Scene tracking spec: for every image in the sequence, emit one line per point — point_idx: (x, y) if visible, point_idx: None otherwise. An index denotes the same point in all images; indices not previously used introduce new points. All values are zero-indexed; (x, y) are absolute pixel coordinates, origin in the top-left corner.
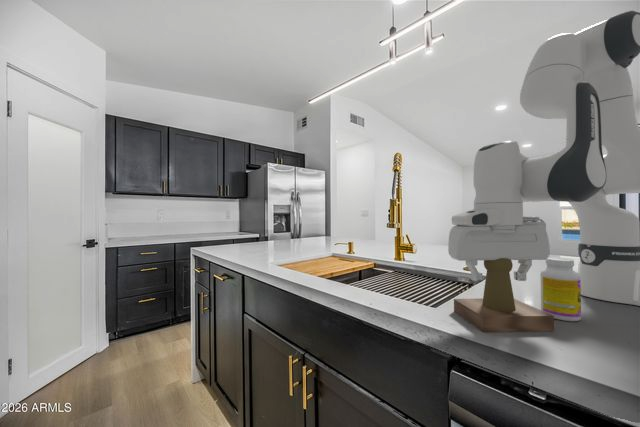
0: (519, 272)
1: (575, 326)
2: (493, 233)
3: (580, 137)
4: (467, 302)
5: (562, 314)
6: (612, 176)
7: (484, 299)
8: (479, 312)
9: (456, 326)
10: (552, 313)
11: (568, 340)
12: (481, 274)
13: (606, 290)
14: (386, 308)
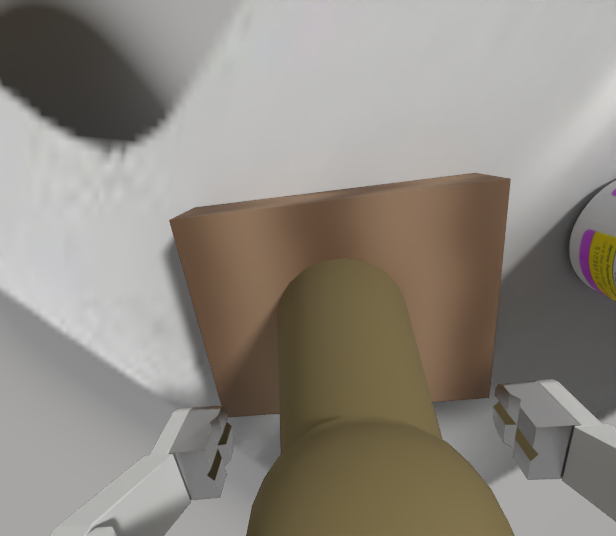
0: (544, 464)
1: (577, 322)
2: None
3: None
4: (222, 273)
5: (603, 294)
6: None
7: (278, 334)
8: (229, 383)
9: (169, 346)
10: (583, 270)
11: (448, 409)
12: (213, 490)
13: None
14: None
